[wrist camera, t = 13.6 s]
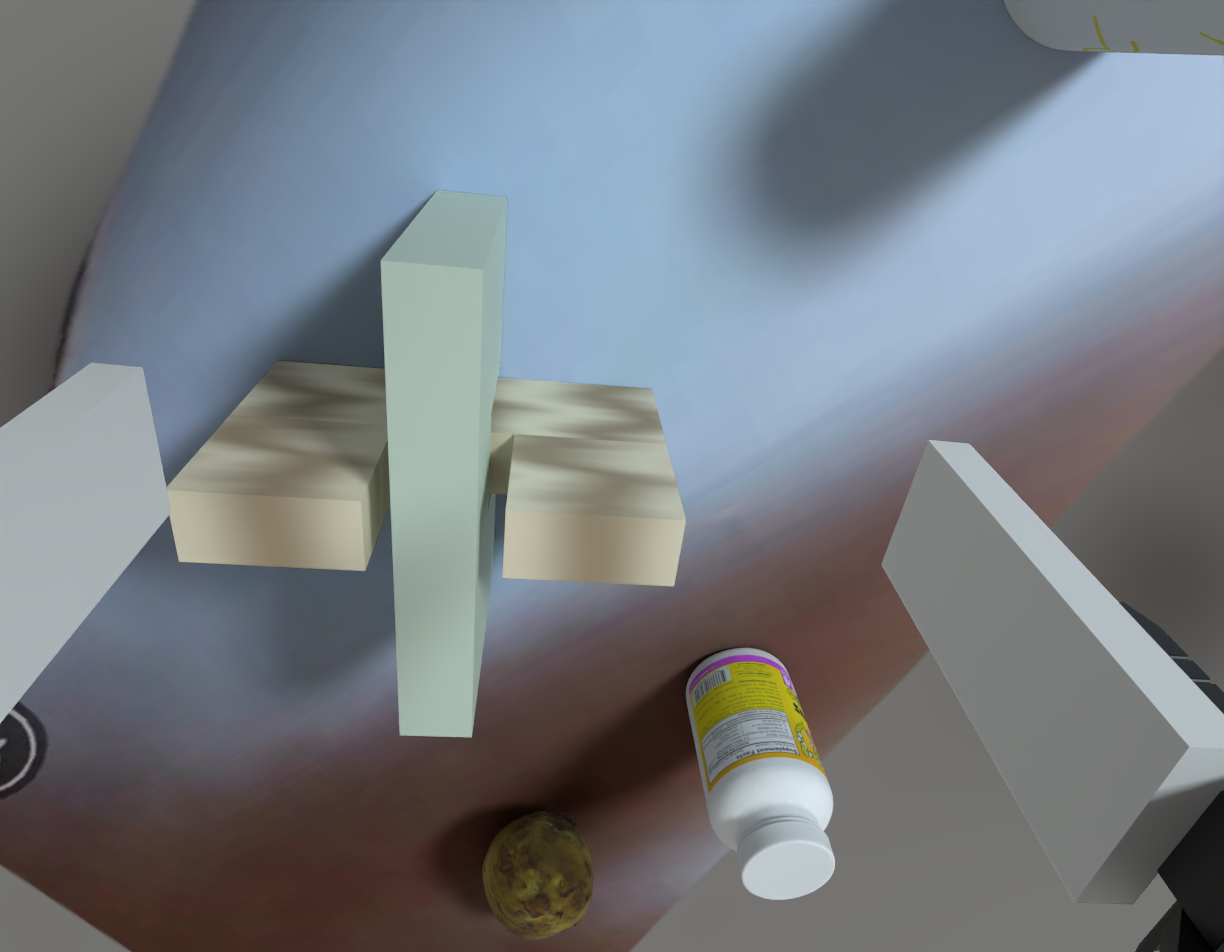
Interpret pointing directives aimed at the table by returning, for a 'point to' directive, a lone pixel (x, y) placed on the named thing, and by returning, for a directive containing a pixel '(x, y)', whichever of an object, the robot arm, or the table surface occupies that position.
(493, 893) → the potato
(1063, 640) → the robot arm
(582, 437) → the notched wooden block
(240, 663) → the table surface
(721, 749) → the supplement bottle
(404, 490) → the sage slat
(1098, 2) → the grey cylinder
